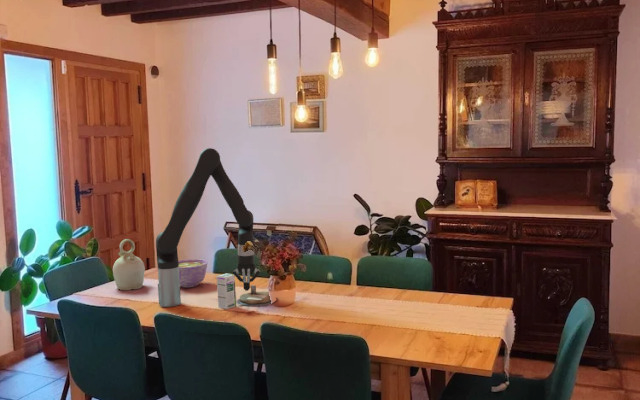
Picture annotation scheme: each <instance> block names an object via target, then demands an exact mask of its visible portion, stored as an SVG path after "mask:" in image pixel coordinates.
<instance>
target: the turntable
mask: <svg viewBox="0 0 640 400" xmlns="http://www.w3.org/2000/svg"><path fill="white" fill-rule="evenodd" d="M239 299H240V302H242V303H246V304H262V303H268V302H271V300H270V296H269V291H257V285H254V284H252V285H250V292H247V293H243V294H241V295H240V296H239Z"/></svg>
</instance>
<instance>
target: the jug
mask: <svg viewBox="0 0 640 400" xmlns="http://www.w3.org/2000/svg"><path fill="white" fill-rule="evenodd" d="M125 243H130V245H131V248H130V250H128V251H127V250H124V245H125ZM135 245H136V244H135V242H134V241H133V240H132V239H129V238H125V239H123V240H122V241H121V242H120V243H119V252H118V253H117V255H119V258H117V259H116V261H115V262H114V264H113V266H112V276H113V279H114V282H115V285H116V287H117V290H119V289H120V291H132V290H131V289H134V290H138V289H141V288H142V287H143V284H144V282H145V281H144V280H145V270H146V269H145V263H144V262H143V260H142V259H141V257H138V256H136V255H135V254H134V251H135V249H136V246H135Z"/></svg>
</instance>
